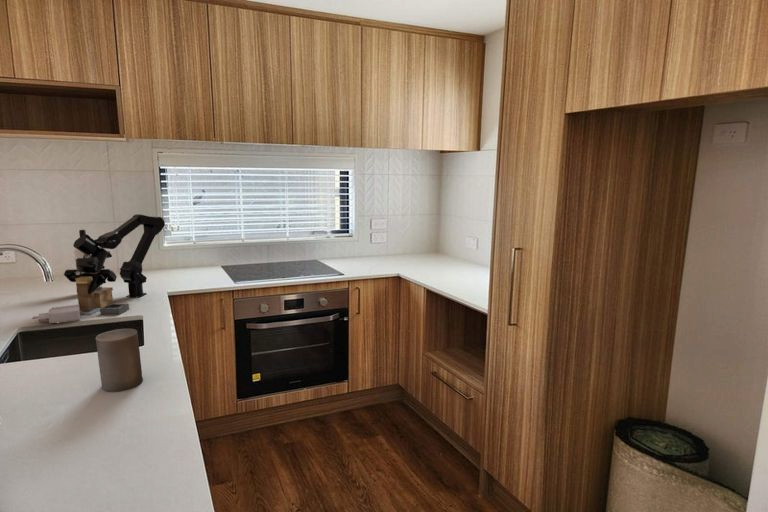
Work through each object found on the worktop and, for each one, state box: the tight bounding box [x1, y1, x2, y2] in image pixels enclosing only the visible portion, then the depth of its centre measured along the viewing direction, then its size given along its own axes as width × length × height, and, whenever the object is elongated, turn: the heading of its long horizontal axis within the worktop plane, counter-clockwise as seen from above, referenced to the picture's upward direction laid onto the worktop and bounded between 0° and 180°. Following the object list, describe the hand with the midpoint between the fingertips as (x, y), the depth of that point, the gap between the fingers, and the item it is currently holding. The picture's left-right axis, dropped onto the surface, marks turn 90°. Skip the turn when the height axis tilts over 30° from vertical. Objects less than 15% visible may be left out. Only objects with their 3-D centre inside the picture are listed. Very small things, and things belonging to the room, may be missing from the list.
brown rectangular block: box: [75, 276, 95, 310], centre depth 197 cm, size 4×4×13 cm
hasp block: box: [99, 303, 130, 316], centre depth 197 cm, size 7×7×2 cm
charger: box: [31, 304, 81, 324], centre depth 186 cm, size 5×9×15 cm
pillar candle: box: [95, 328, 144, 393], centre depth 128 cm, size 10×10×15 cm
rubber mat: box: [80, 308, 100, 315], centre depth 198 cm, size 8×8×1 cm
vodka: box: [73, 229, 91, 273], centre depth 225 cm, size 9×9×30 cm
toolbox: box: [93, 285, 114, 308], centre depth 207 cm, size 10×8×8 cm
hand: (83, 293), depth 195 cm, fingers open, 4 cm apart
